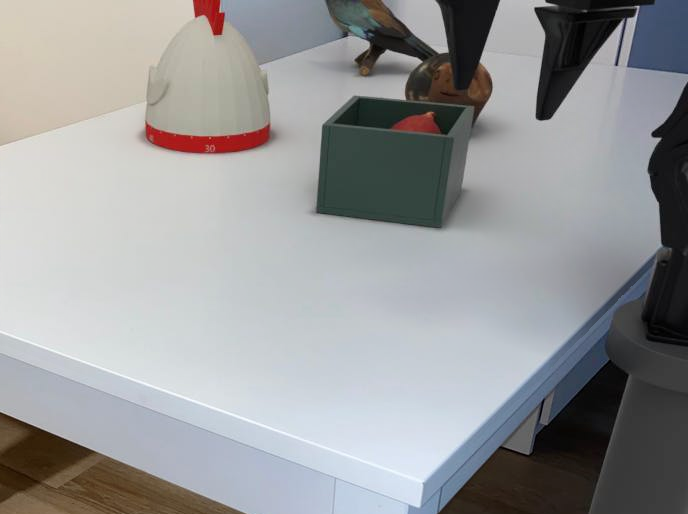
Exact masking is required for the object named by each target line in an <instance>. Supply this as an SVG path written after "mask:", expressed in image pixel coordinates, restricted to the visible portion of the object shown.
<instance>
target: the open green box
mask: <svg viewBox="0 0 688 514" xmlns="http://www.w3.org/2000/svg"><path fill="white" fill-rule="evenodd" d="M428 112H434V113H435V117H434V120H433V121H434V122H435V124H436V125H437V126H438V128H439V130H440V132H441V134H432V133H422V132H412V131H402V130H392V129H390V128H392V127H393V126H394V125H395V124H397V123H398V122H400V121H402V120H404V119H405V118H408V117H410V116H415V115H424V114H426V113H428ZM473 113H474V106H466V105H455V104H444V103H433V102H422V101H411V100H406V99H398V98H387V97H377V96H366V95H356V94H355V95H352V97H351V98H350V99H348V100H347V101H346V102H345V103H344V104H343V105H342V106H341V107H340V108H339V109H338V110H337V111H335V112H334V113H333V114H332V115H331V116H330V117H329V118H328V119H327V120H326V121H325V122H323V124H322V125H321V139H320V153H319V166H318V180H317V193H316V207H315V212H316V213H317V214H318V213H319V214H326V215H334V216H342V217H349V218H350V217H351V218H357V219H367V220H373V221H380V222H382V221H383V222H390V223H397V224H406V225H414V226H422V227H430V228H437V229H441V228H442V226H443V224H444V222H445V221H446V219H447V217H448V215H449V213H450V212H451V210H452V208H453V206H454V204H455V202H456V200H457V199H458V197H459V196H460V193H461V191H462V188H463V182H464V177H465V170H466V163H467V158H468V151H469V144H470V138H471V131H472V129H471V126H472V120H473Z"/></svg>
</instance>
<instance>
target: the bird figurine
mask: <svg viewBox="0 0 688 514" xmlns="http://www.w3.org/2000/svg"><path fill="white" fill-rule="evenodd" d="M324 2H325V5H326V8H327V10H328V13H329V16H330V18H331V20H332V21H333V23H334V25H335V27H337V28H338V29H339V30H341V31H343V32H346V33H350V34H353V35H354V36H356V37H358V38H360V39H361V40H364V41H367V42H369V47H368V48H367V49H366V50H363V52H362V53H360V54H359V55H358V56H356V58H354V62H355V63H356V64H357V66H359V74H360V75H362V76H363V77H364V76H365V77H366V76H368V75H369V74H370V72H371V71H372V70H373V69H374V66H375V65H376V63H377V61H378V59H379V58H380V56H382V55H383V54H385V53H386V51H390V52H393V53H397V54H401V55H404V56H408V57H412V58H417V59H418V60H420V61H421V62H423V61H425V60H426V59H428V58H430V57H432V56H434V55H437V54H440V53H439V52H438V51H437V50H435V49H434V48H433V47H431V46H430V45H429V44H428V43H426V42H425V41H424V40H422V39H421V38H419V37H418V36H417V35H415V34H414V33H413V32H412V31H411V30H410V28H409V27H408V26H407V25H406V24H405V23H404V22H402V20H400V19H398V17H397V16H395V14H394V12H392V10H391V9H390V8H389V7H388V6H386V4H385V3H384V2H383V0H324Z"/></svg>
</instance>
